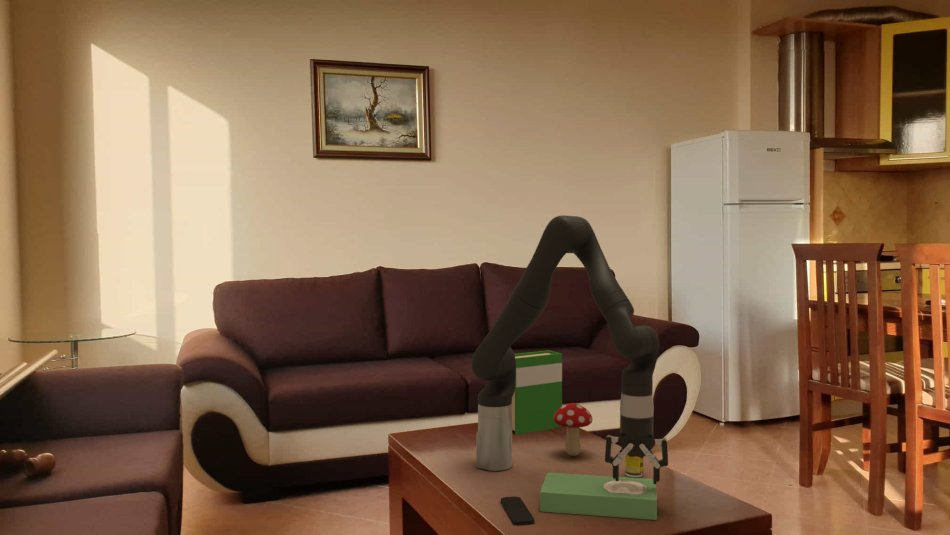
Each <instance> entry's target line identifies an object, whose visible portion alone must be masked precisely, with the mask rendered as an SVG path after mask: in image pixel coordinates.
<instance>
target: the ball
mask: <svg viewBox="0 0 950 535" xmlns="http://www.w3.org/2000/svg"><path fill="white" fill-rule="evenodd" d="M617 490H618V491H623V492H631V491H630V490H629V489H628V488H625V487H620V488H618V489H617Z"/></svg>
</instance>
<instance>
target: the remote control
mask: <svg viewBox="0 0 950 535" xmlns="http://www.w3.org/2000/svg"><path fill="white" fill-rule="evenodd" d="M499 502H500V505H501V504H502V505H501V507H502V508H503V510H504V511H505V513H506V515H507V516H508V518H509V520H510V522H511V524H512V525H513V526H515V525H516V526H517V527H518V526H519V527H520V526H530V525H531V524H532V525H535V518H534V516H533V514H532V513H531V512H530V510H529V509H528V507H527V505H526V504H525V503H524V500H523V499H522V498H521V497H520V496H504V497H500V501H499ZM532 525H531V526H532Z"/></svg>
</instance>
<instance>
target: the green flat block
mask: <svg viewBox="0 0 950 535" xmlns="http://www.w3.org/2000/svg"><path fill="white" fill-rule="evenodd" d="M545 474H546V475H545V477H544V481H543V482H542V486H541V489H540V492H539V512H540V513H541V512H544V513H555V514H571V515H583V516H596V517H608V518H609V517H610V518H621V519H622V518H626V519H637V520H649V521H652V520H653V521H657V520H658V496H657V495H658V494H657V493H658V492H657V484H653V478H643V477H628V476H625V477H624V476H619V482H618V481H616V479H613V476H608V475H607V476H606V475H594V474H593V475H592V474H577V473H563V472H562V473H561V472H560V473H559V472H546V473H545ZM620 487H625V488H628V489H629V490H630V491H631V492H623V491H618V490H617V489H618V488H620Z"/></svg>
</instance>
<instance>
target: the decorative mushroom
mask: <svg viewBox="0 0 950 535" xmlns="http://www.w3.org/2000/svg"><path fill="white" fill-rule="evenodd" d="M554 422H555V423H556V424H558V425H560V426H562V427H564V428H566V431H565V432H566V440H565V445H564V447H565V452H566V454H567V455H569V456H570V457H576V456H578V455H579V454H580V453H581V448H582V446H581V441H580V428H584V427H589V426H590V425H591V424H592V422H593V416H592V414H591V413H590V411H589V410H588V409H587V408H586V407H584V406H582V405H581V404H578V403H576V402H575V403H572V402H571V403H567V404H564V405H562V407H561V408H559V409H558V410H557V411H556V413H555V415H554Z"/></svg>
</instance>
